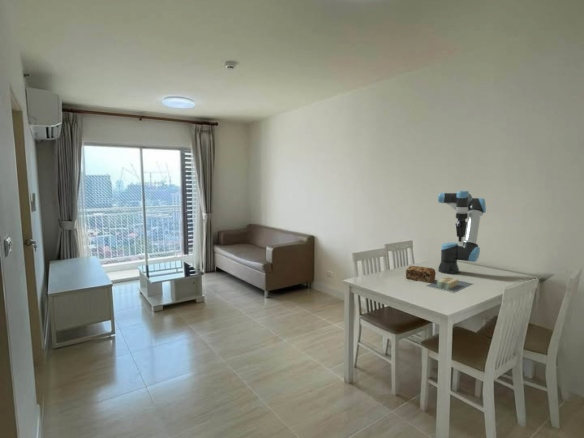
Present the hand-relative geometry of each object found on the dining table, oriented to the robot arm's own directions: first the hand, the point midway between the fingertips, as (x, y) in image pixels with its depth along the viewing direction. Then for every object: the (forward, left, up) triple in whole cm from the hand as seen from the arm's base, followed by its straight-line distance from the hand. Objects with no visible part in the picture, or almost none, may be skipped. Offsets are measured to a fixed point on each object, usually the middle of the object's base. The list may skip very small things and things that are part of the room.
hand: (460, 245), depth 240 cm
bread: (-22, -15, -27) cm, 38 cm away
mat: (-1, -12, -27) cm, 29 cm away
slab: (-1, -10, -24) cm, 26 cm away
